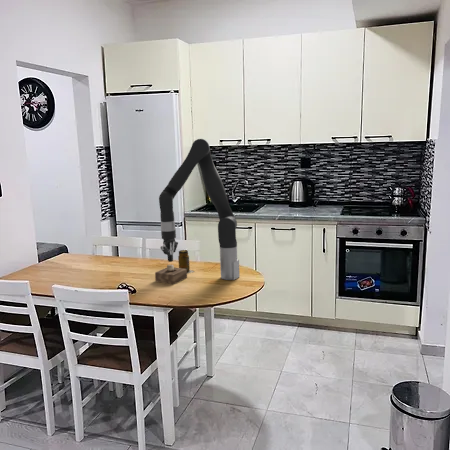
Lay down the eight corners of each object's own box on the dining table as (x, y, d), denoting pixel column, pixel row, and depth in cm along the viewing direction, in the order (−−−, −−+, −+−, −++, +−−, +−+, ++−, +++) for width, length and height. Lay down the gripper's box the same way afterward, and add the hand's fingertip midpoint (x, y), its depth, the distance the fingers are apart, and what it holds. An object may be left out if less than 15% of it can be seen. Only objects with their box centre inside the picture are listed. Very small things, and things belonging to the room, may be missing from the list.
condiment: (186, 268, 250) (185, 248, 248) (194, 271, 243) (193, 251, 241) (175, 271, 245) (174, 251, 243) (183, 274, 239) (182, 253, 237)
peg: (175, 279, 231) (175, 264, 229) (171, 281, 228) (171, 266, 226) (170, 278, 232) (169, 264, 231) (166, 280, 229) (165, 265, 228)
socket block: (187, 277, 232) (186, 269, 231) (173, 284, 222) (173, 275, 221) (169, 275, 238) (168, 266, 237) (155, 281, 228) (155, 272, 227)
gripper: (166, 232, 218) (168, 265, 221) (181, 227, 229) (183, 258, 232) (154, 231, 221) (157, 263, 224) (170, 226, 233) (172, 257, 236)
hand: (170, 261), depth 228 cm, fingers closed
